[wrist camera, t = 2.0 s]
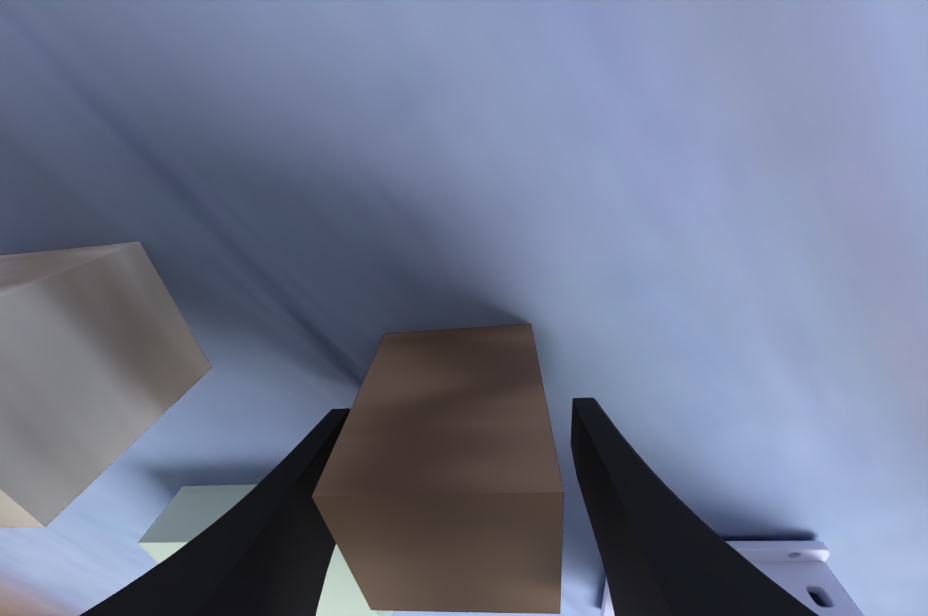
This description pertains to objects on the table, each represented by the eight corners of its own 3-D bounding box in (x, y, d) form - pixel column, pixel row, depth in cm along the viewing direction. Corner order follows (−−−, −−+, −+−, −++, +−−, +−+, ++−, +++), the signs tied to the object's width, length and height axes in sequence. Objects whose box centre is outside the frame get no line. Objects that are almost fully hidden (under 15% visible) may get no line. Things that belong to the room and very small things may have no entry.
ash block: (140, 241, 11) (-155, 358, 6) (213, 366, 14) (45, 527, 9) (3, 254, 12) (-375, 373, 7) (96, 373, 14) (-129, 529, 9)
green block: (362, 474, 17) (339, 541, 14) (400, 571, 21) (389, 636, 19) (188, 479, 18) (137, 542, 15) (259, 571, 22) (229, 633, 20)
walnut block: (530, 323, 12) (563, 492, 7) (533, 429, 14) (560, 613, 9) (385, 332, 13) (312, 496, 7) (411, 433, 15) (370, 610, 10)
